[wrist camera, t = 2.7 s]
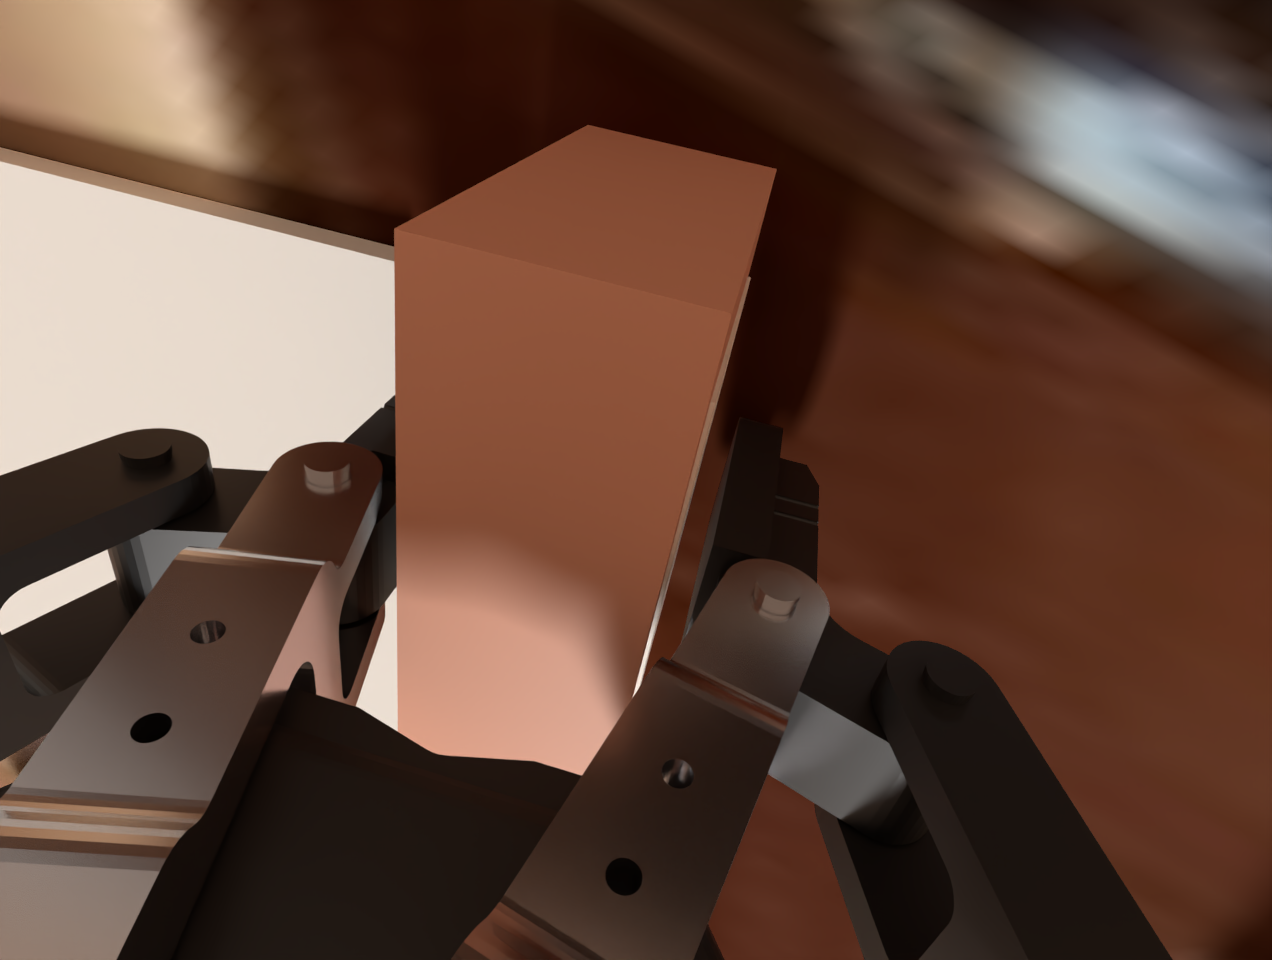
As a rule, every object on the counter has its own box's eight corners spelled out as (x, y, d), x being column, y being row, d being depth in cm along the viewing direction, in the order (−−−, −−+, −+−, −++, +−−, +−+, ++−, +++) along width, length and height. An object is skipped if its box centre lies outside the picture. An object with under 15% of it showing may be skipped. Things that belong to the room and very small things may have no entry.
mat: (415, 252, 13) (398, 262, 12) (410, 803, 22) (400, 821, 21) (-502, 20, 14) (-549, 21, 13) (-147, 627, 23) (-169, 641, 22)
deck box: (586, 123, 11) (387, 226, 6) (781, 168, 11) (737, 314, 6) (528, 577, 16) (395, 835, 11) (660, 614, 16) (583, 894, 11)
